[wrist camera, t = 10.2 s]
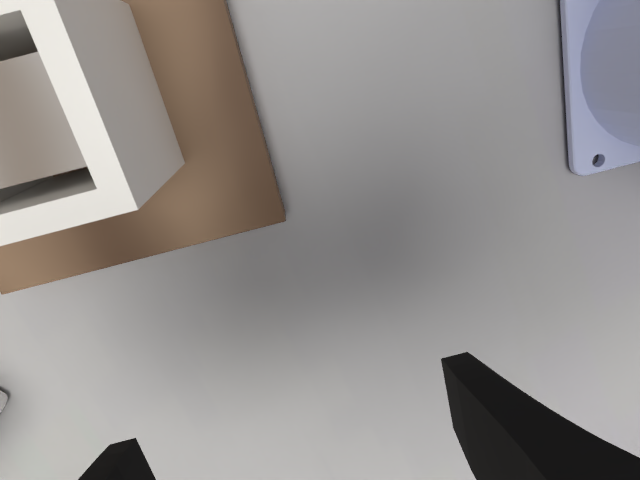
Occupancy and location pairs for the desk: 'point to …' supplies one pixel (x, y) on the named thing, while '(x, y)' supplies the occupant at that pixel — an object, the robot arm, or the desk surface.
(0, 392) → the medicine bottle
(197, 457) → the desk surface
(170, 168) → the sleeve
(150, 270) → the desk surface
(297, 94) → the desk surface
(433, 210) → the desk surface
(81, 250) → the duct base
